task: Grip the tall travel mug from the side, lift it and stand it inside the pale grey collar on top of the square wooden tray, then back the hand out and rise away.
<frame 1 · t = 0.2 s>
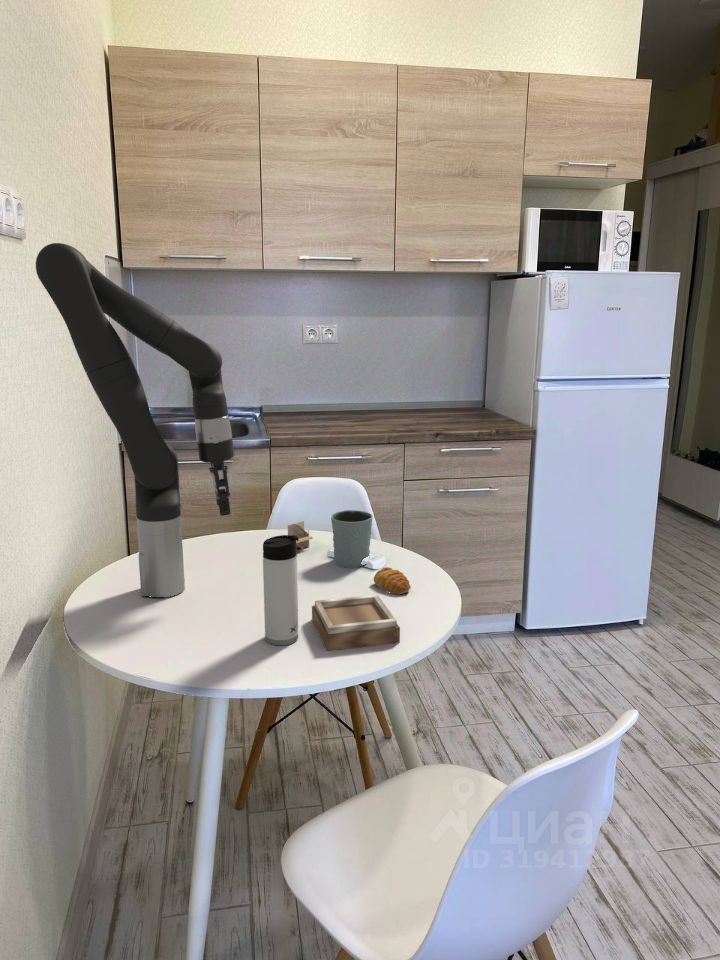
hand: (223, 509, 157), 18 cm above the table, tool pointing down, fingers open, 8 cm apart
pastry: (392, 588, 160), on the table
green cup: (351, 562, 176), on the table
square wooden tray: (354, 630, 138), on the table
travel mug: (282, 639, 134), on the table
architectural model: (298, 551, 186), on the table
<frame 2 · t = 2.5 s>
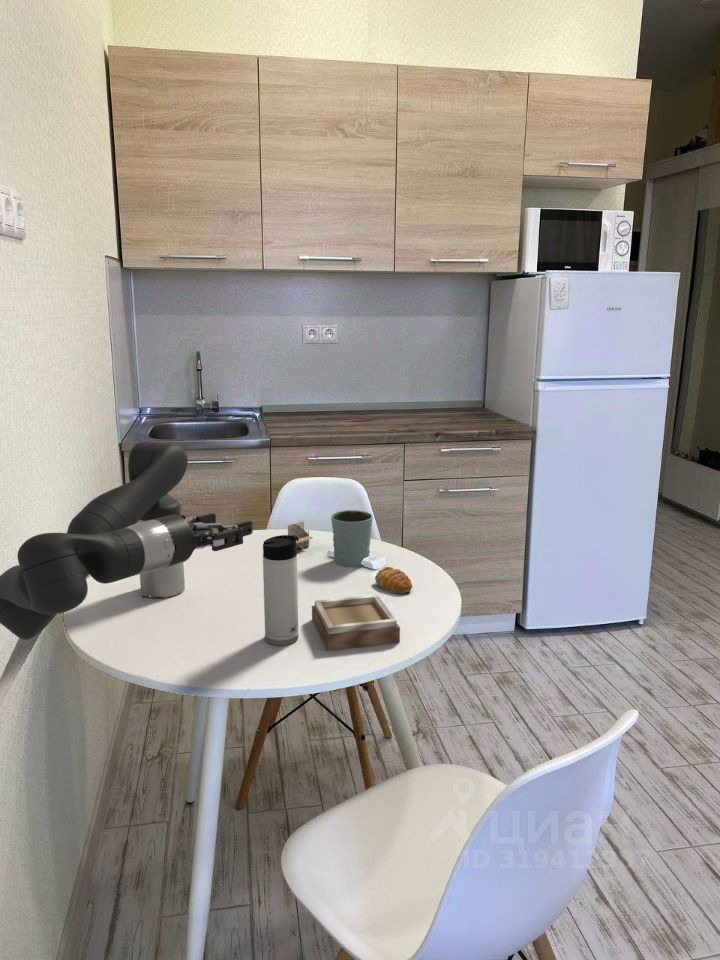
hand: (232, 523, 119), 26 cm above the table, tool horizontal, fingers open, 8 cm apart
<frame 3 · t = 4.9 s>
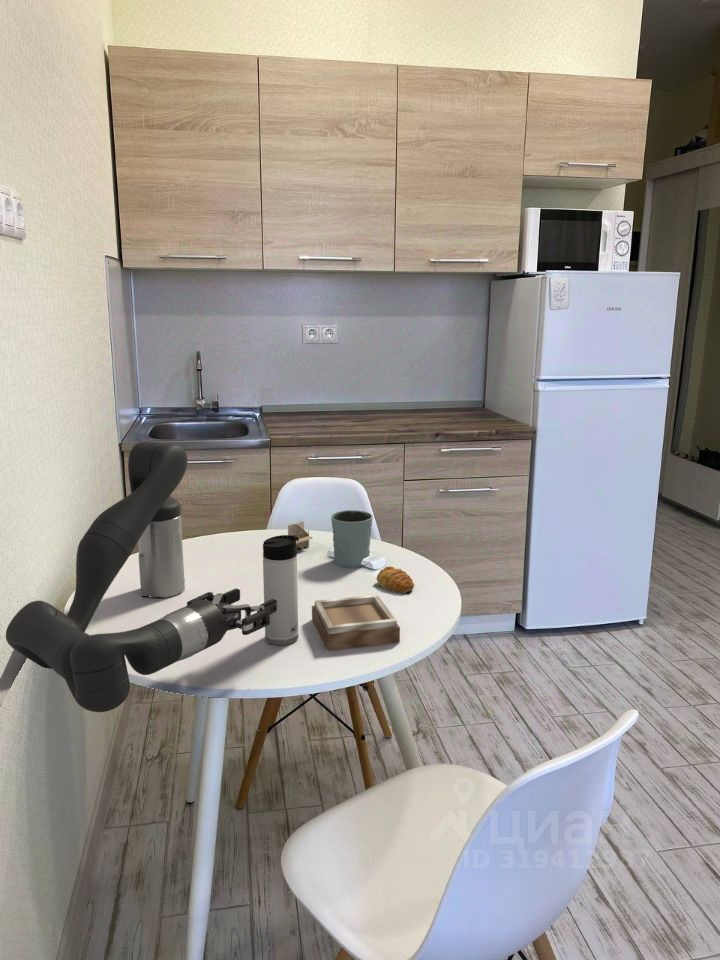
hand: (256, 599, 126), 11 cm above the table, tool horizontal, fingers open, 8 cm apart
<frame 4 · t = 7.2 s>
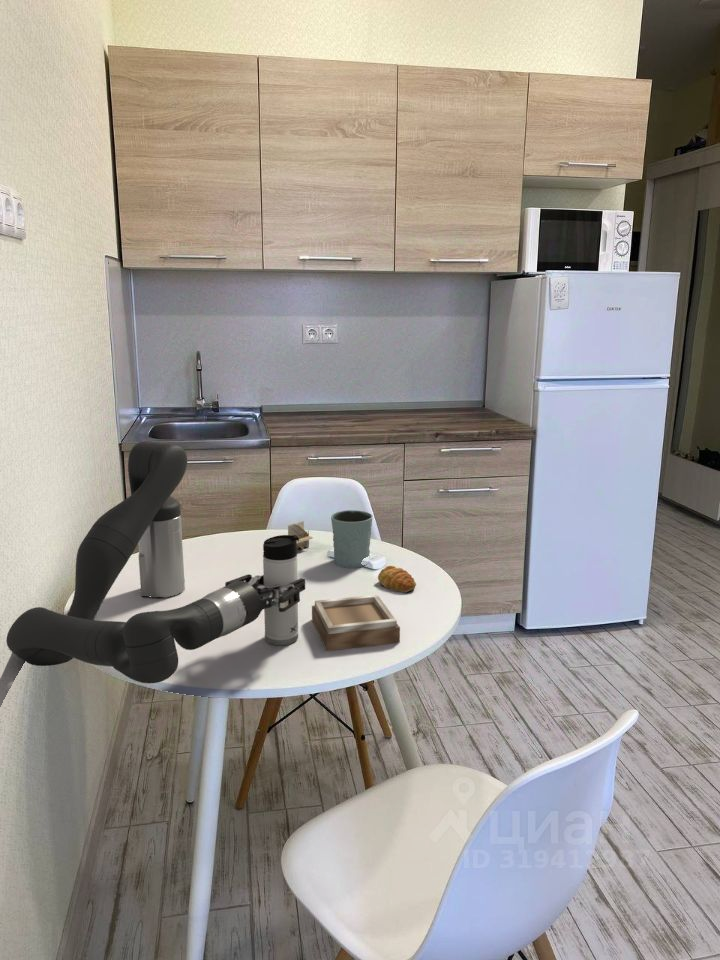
hand: (289, 579, 134), 11 cm above the table, tool horizontal, fingers closed on travel mug, 6 cm apart
travel mug: (282, 639, 134), on the table, touching gripper
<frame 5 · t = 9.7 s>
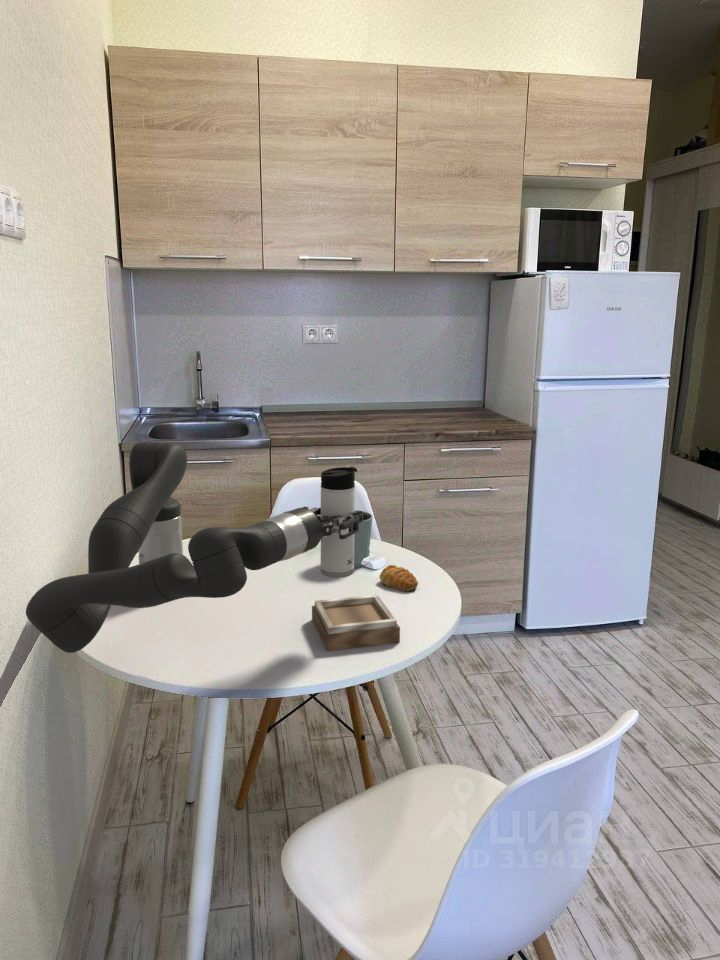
hand: (345, 512, 133), 24 cm above the table, tool horizontal, fingers closed on travel mug, 6 cm apart
travel mug: (338, 573, 133), point 12 cm above the table, touching gripper
when the fingers open (15 cm above the table, at t = 12.6 s): travel mug drops 1 cm, resting on square wooden tray.
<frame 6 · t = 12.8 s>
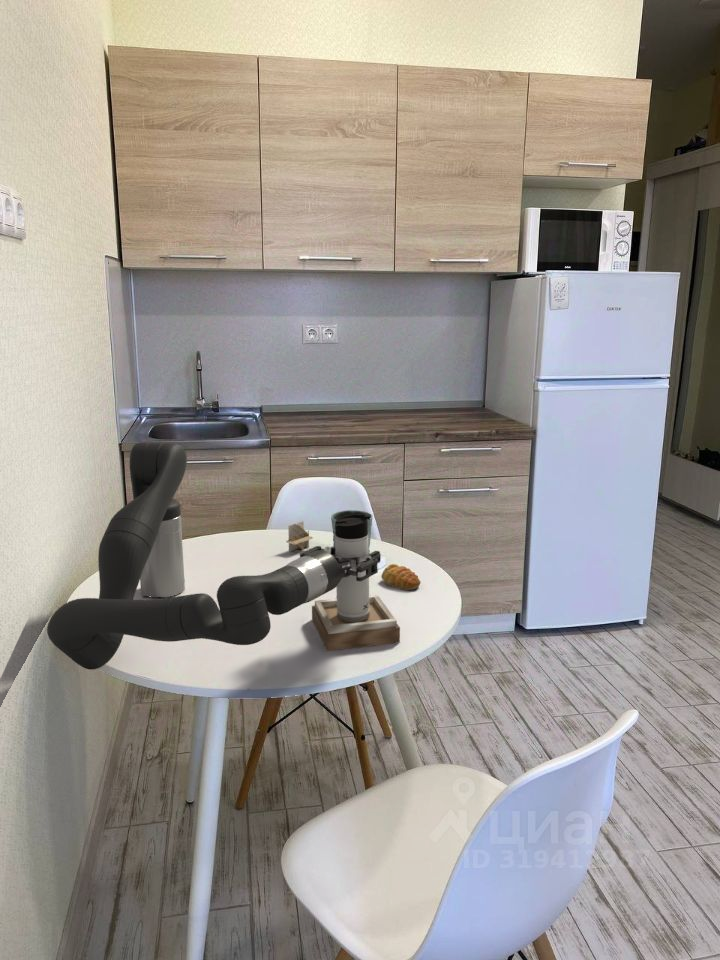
hand: (360, 552, 136), 15 cm above the table, tool horizontal, fingers open, 7 cm apart
travel mug: (354, 617, 137), point 3 cm above the table, touching square wooden tray
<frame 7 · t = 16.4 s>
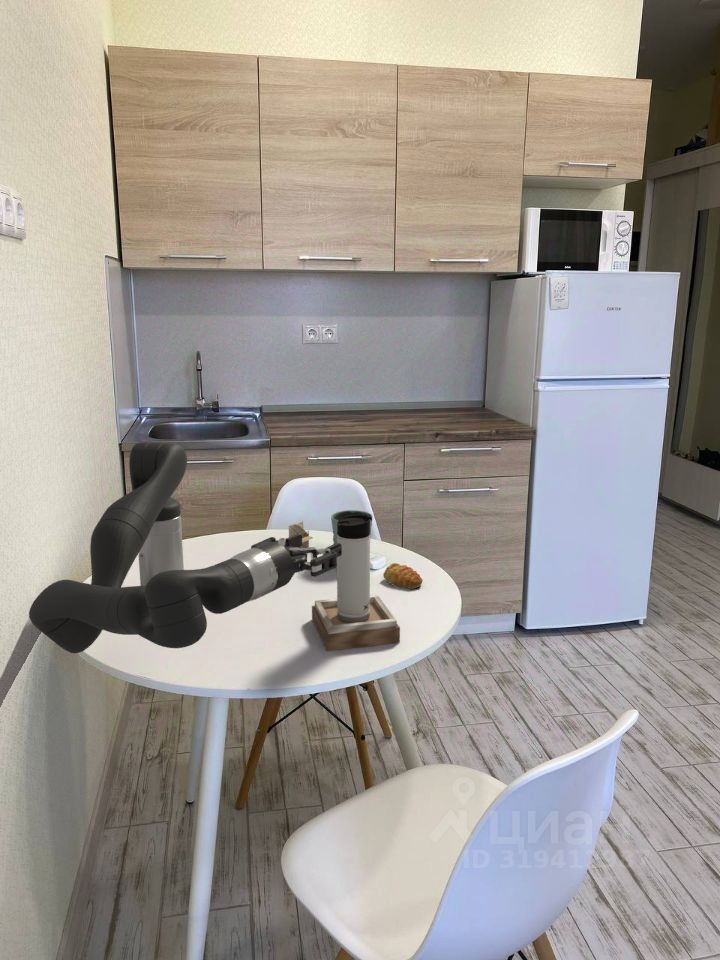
hand: (320, 544, 123), 21 cm above the table, tool horizontal, fingers open, 8 cm apart
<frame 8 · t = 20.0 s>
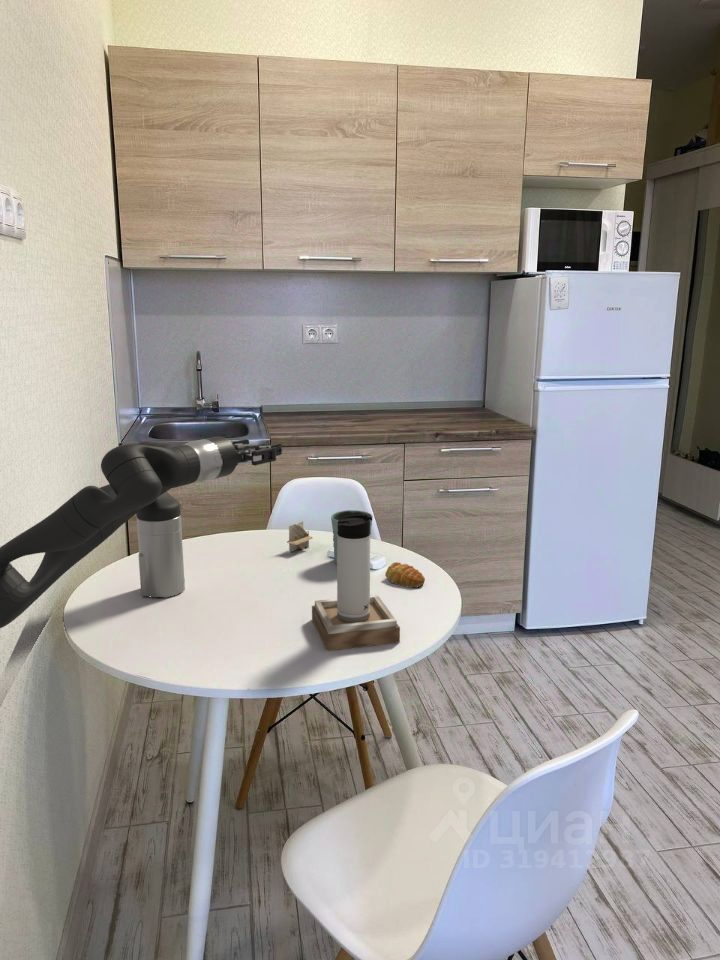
hand: (264, 446, 142), 34 cm above the table, tool horizontal, fingers open, 8 cm apart
at the end: travel mug 0.1 cm from the square wooden tray (horizontally); travel mug tilted 0°; travel mug touching square wooden tray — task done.
